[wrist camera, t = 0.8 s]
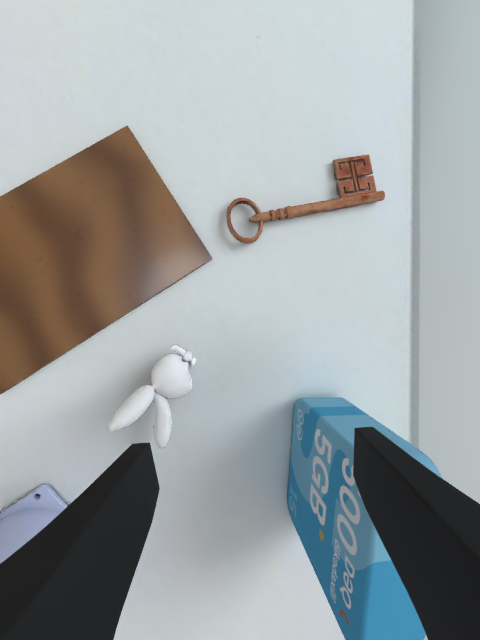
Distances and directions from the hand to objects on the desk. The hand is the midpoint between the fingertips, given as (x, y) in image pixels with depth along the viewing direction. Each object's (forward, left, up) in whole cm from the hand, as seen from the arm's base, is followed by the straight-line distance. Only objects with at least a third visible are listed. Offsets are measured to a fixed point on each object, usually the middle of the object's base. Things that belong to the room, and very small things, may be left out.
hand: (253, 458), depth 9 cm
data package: (+3, -13, -15) cm, 21 cm away
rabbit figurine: (-5, +1, -15) cm, 16 cm away
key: (+15, +8, -15) cm, 22 cm away
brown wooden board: (-5, +14, -15) cm, 21 cm away
